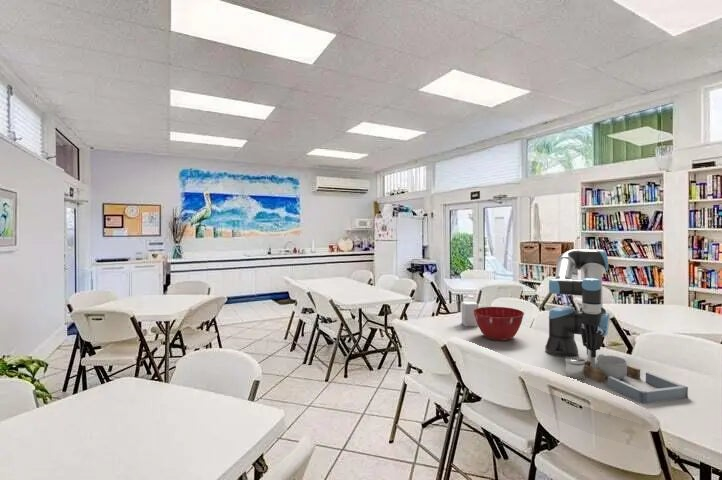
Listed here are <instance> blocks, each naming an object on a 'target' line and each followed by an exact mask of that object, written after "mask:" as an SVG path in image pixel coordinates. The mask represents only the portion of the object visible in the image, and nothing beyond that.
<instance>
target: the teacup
mask: <svg viewBox="0 0 722 480" xmlns="http://www.w3.org/2000/svg"><path fill="white" fill-rule="evenodd" d="M596 360H597V370H599V371H601V372H604V373H605V379H607V380H608V377H614V378H616V379H618V380H620V381H621V380H623V379H624V378H626V377H627V376H628V375H627V364H628V360H626V359H625V358H623V357H620V356H617V355H606V354H605V355H604V354H598V357H597V359H596Z"/></svg>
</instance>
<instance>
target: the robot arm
mask: <svg viewBox="0 0 722 480" xmlns="http://www.w3.org/2000/svg"><path fill="white" fill-rule="evenodd" d="M556 267H557V268H556V273H555V277H554V278H550V279H549V281H548V291H549V293H550V294H553V295H554V294H555V295H567V296H581V300H582V301H581V307H580V308H579V310H575V308H574V307H572V306H558V307H553V308H552V307H551V309H549V311H548V338H547V342H546V344H545V347H544V349H545V352H546V353H547V354H549V355H552V356H556V357H562V358H567V357H577V356H579V349H578V345H577V343H576V340H575V335H580V337H581V340H582V345H583V347H585V348H586V355H587V361H589V362H591V365H594V364H596V357H597V351H598V350H599V351H600V350H601V346H602V342H603V338H605V337H607V336H608V332H609V326H610V319H611V318H610V313H607V310H606V308H604V307H603V275H604V274H605V273H606V271H608V270H609V260H608V254H607V252H606V250H605V249H597V248H596V249H583V248H582V249H580V248H577V249H570V250H567V251H564V252H563V253H561V254H560V255H559V256H558V257H557V259H556ZM574 270H579V271H580V272H581V273H582V274H583V278H582V279H573V278H572V277H573V271H574Z"/></svg>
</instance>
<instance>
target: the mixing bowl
mask: <svg viewBox="0 0 722 480" xmlns="http://www.w3.org/2000/svg"><path fill="white" fill-rule="evenodd" d="M473 312H474V315H475V319H476V322H477V324H478V326H477V327H478V328H479V331H480V332H481V334H483V335H484V336H485V337H486V338H487V339H490V340H494V341H508V340H510V339H512V338H514V337H515V336H516V335H517V333H518V331H519V329H520V327H521V325H522V322H523V318H524V315H525V312H524V311H523V310H520V309H517V308H512V307H504V306H485V307H483V306H482V307H478V308H477V309H475V310H473Z"/></svg>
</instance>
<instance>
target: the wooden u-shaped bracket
mask: <svg viewBox="0 0 722 480" xmlns="http://www.w3.org/2000/svg"><path fill="white" fill-rule="evenodd" d="M584 361H585V364H584V376H585V377H588V378H591V379H593V380H595V381H596V380H597V382H599V383H601V384H606V378H605V373H604V372H601V371H599V370H598V368H597V369H596V368H595V367H592V364H591V362H589V361H588V360H584ZM626 376H629V377H631V378H634V379H636V380H639V379H641V369H640V368H638V367H635V366H633V365H630V364H628V363H627V375H626Z"/></svg>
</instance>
